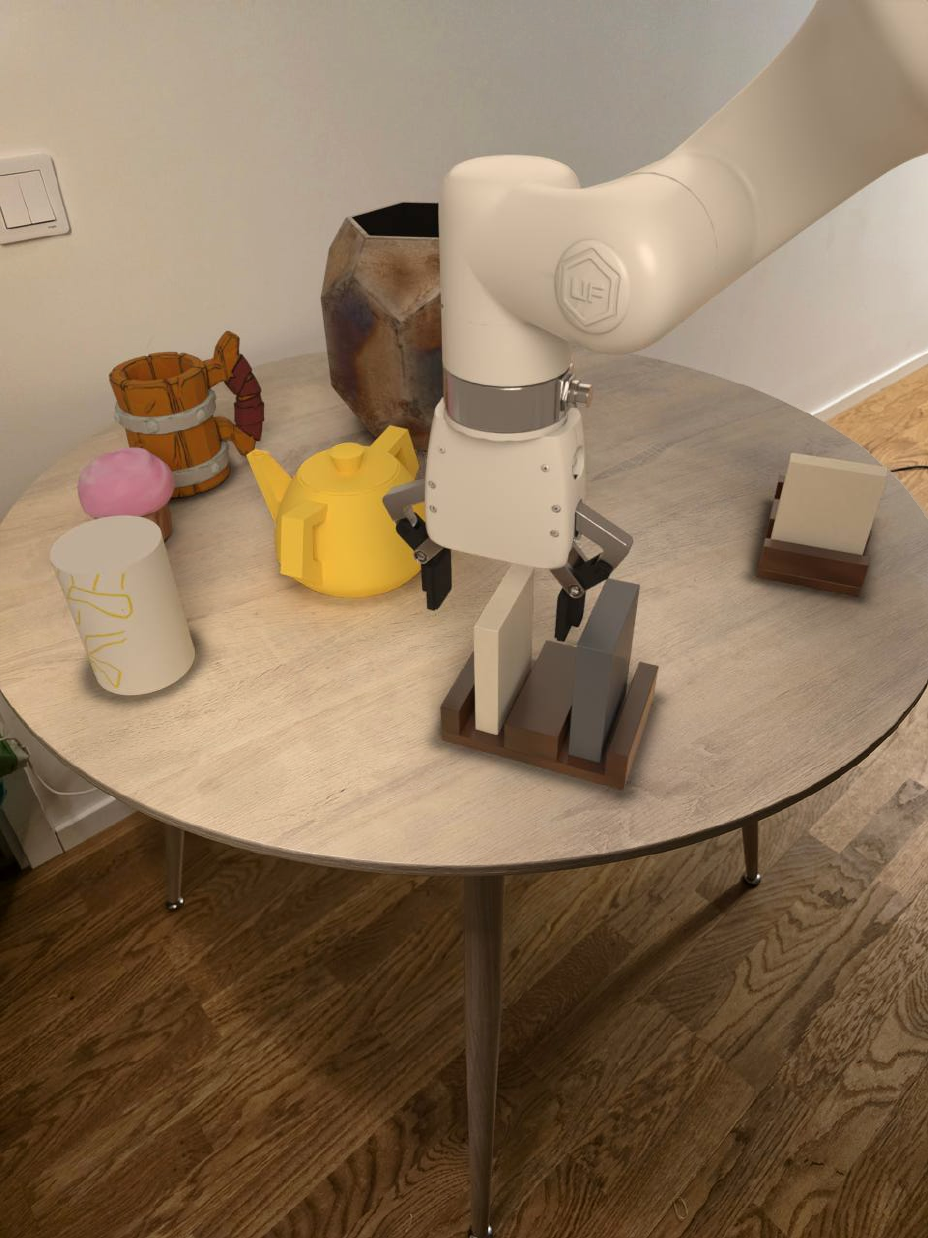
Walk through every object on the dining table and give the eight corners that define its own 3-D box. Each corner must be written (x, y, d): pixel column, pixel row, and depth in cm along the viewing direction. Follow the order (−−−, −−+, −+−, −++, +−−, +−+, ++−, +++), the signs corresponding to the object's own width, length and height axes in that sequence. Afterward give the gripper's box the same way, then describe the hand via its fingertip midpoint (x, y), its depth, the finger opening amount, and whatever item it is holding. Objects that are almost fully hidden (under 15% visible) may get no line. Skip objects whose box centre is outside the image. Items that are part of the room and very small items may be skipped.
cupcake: (199, 521, 91) (177, 434, 84) (172, 569, 84) (146, 478, 78) (116, 519, 91) (89, 433, 85) (83, 567, 84) (50, 477, 78)
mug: (122, 469, 100) (83, 342, 91) (258, 435, 106) (235, 312, 97) (144, 511, 92) (105, 377, 83) (289, 471, 99) (267, 342, 89)
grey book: (626, 691, 68) (640, 584, 61) (600, 763, 62) (612, 653, 55) (596, 684, 68) (607, 577, 62) (567, 754, 62) (576, 645, 56)
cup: (74, 673, 72) (26, 554, 65) (149, 621, 77) (112, 505, 70) (142, 708, 69) (99, 586, 61) (215, 650, 74) (183, 532, 67)
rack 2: (864, 519, 88) (873, 489, 86) (858, 597, 78) (869, 565, 76) (772, 504, 91) (779, 474, 89) (756, 577, 81) (763, 546, 79)
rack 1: (653, 698, 68) (658, 665, 66) (623, 790, 61) (628, 757, 59) (487, 658, 73) (487, 626, 70) (441, 740, 65) (439, 706, 63)
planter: (559, 444, 102) (569, 231, 88) (359, 481, 96) (335, 260, 82) (493, 374, 119) (492, 186, 104) (319, 403, 113) (292, 207, 98)
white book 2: (857, 562, 80) (888, 466, 74) (856, 572, 79) (887, 476, 73) (768, 546, 83) (791, 452, 77) (766, 556, 82) (789, 461, 75)
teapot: (416, 501, 93) (409, 396, 85) (470, 587, 80) (468, 473, 73) (260, 533, 88) (238, 426, 81) (292, 629, 76) (270, 512, 69)
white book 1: (531, 668, 70) (535, 567, 64) (497, 735, 64) (498, 631, 58) (510, 663, 70) (512, 562, 64) (475, 729, 65) (473, 626, 58)
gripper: (662, 387, 52) (630, 611, 63) (401, 349, 57) (413, 562, 68) (634, 442, 46) (604, 676, 57) (348, 394, 51) (370, 618, 62)
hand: (501, 614), depth 62 cm, fingers open, 9 cm apart
